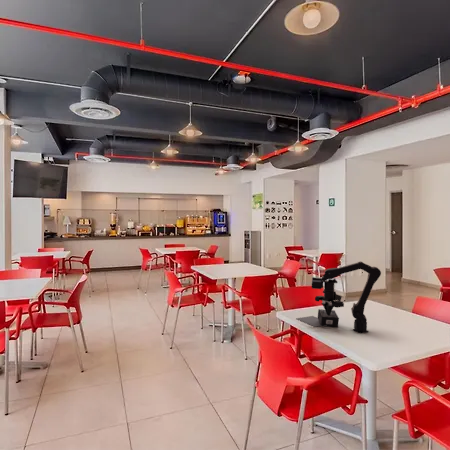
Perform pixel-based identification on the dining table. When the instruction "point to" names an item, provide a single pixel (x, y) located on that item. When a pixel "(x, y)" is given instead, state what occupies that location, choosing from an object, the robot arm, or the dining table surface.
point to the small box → (328, 318)
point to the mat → (310, 321)
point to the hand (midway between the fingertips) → (328, 315)
